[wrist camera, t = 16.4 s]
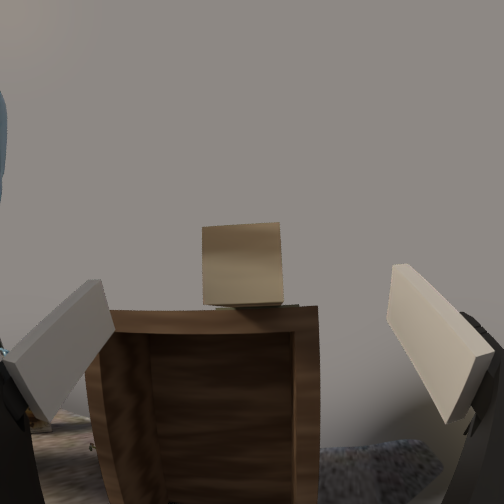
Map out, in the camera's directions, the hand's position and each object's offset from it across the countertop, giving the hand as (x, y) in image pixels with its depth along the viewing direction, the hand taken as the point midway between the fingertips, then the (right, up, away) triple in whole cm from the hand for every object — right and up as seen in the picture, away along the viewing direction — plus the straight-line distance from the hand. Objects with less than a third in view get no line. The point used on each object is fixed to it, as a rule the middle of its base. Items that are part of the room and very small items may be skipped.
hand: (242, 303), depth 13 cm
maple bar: (+1, -3, +14) cm, 14 cm away
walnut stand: (-3, -34, +13) cm, 36 cm away
